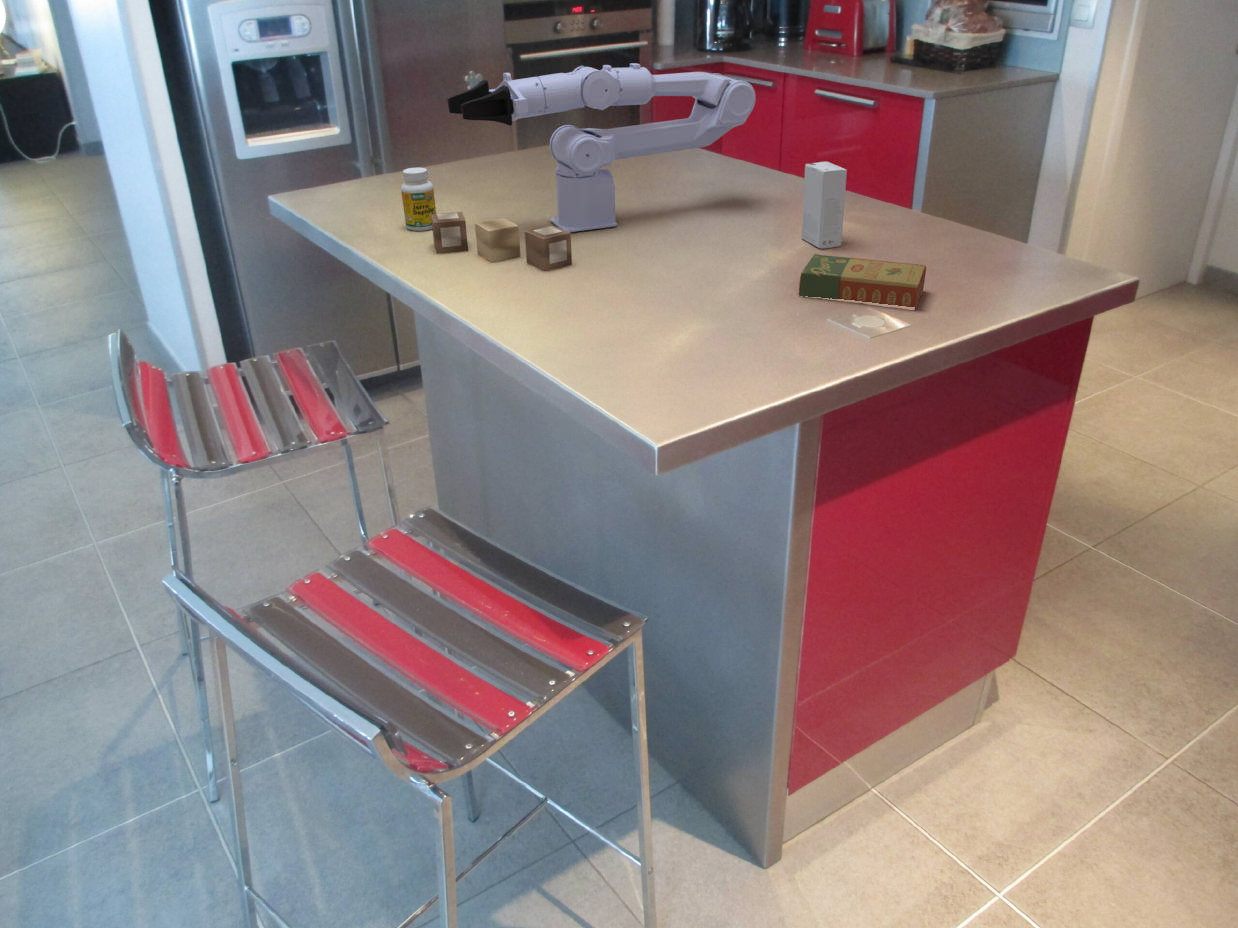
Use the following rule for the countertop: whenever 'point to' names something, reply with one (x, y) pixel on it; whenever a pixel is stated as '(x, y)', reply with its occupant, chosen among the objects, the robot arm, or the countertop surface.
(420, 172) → the supplement bottle
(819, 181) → the skincare box
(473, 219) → the countertop surface
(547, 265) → the walnut block
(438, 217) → the walnut block
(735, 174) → the countertop surface
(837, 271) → the carton
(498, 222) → the oak block
